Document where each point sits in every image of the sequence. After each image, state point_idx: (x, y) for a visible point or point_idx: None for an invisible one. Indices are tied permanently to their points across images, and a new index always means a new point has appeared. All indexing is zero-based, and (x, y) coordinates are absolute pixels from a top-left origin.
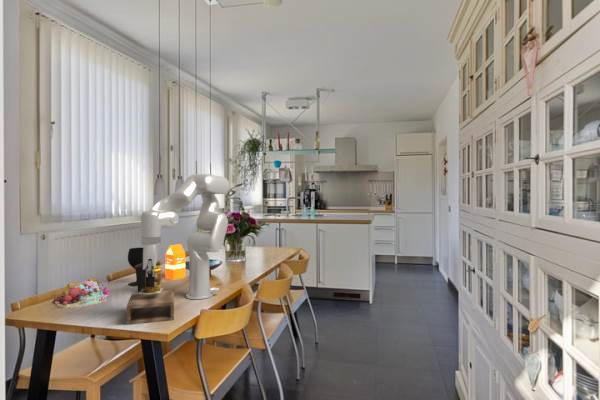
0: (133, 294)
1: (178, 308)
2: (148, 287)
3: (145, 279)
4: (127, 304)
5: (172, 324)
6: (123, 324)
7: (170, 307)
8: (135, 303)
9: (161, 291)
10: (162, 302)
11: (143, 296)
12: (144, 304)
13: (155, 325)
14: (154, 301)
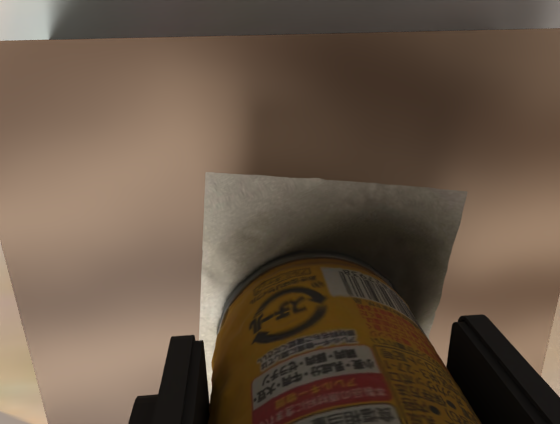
0: (534, 54)
1: None
2: (225, 344)
3: (304, 383)
4: (24, 43)
5: (13, 364)
6: (66, 10)
7: None
8: (62, 139)
9: (522, 345)
10: (58, 399)
11: None
12: (2, 244)
13: (4, 264)
14: (114, 326)
